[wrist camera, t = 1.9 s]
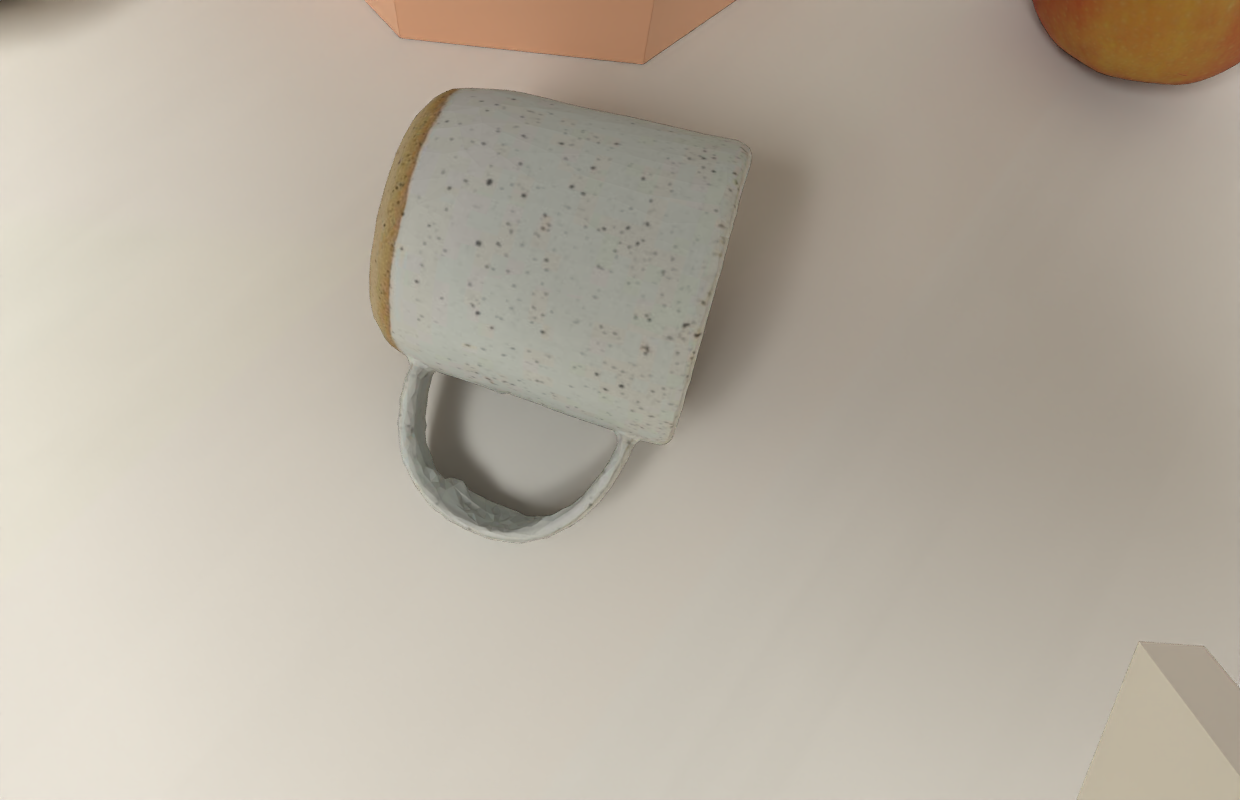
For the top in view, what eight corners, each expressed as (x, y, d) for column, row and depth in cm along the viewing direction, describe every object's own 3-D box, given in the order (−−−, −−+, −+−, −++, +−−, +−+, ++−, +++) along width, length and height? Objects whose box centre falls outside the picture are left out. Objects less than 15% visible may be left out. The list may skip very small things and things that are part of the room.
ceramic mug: (459, 170, 31) (439, -7, 24) (723, 242, 31) (784, 87, 24) (338, 505, 28) (271, 416, 20) (636, 586, 28) (676, 527, 20)
